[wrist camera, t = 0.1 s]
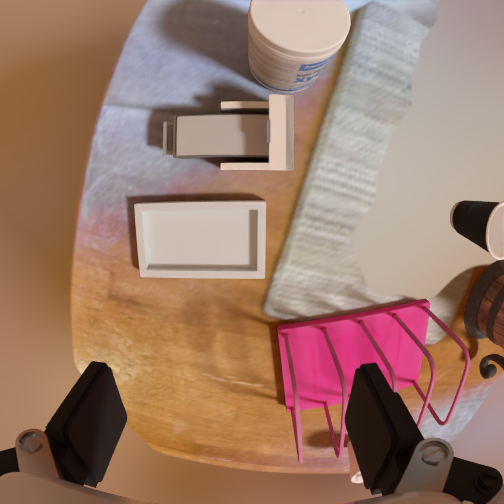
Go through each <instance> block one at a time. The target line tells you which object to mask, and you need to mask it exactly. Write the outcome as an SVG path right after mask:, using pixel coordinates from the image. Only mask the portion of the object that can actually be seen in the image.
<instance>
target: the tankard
mask: <svg viewBox="0 0 504 504" xmlns="http://www.w3.org/2000/svg"><path fill="white" fill-rule="evenodd" d="M464 323H465V328H466V331H467V333H468V334H469V335H470V336H471V337H473V338H476V339H482V338H489V340H491V341H492V342H493V343H495V344H496V345H500V346H501V347H502V348H504V259H502V260H498V261H496V262H494V263H492V264H491V265H490V266H489V267H487V268H486V269H485V270H484V272H483V273H482V274H481V275H480V277H479V278H478V279H477V281H476V282H475V284H474V286H473V288H472V290H471V292H470V295H469V297H468V300H467V304H466V308H465V314H464ZM489 360H492V361H494V362H496V363H497V364H499V365H500V366H501V367H502V368H503V370H504V357H503V356H500V355H498V354H491V355H488V356H485V357H484V358H483V359H482V360H481V362H480V366H479V367H480V373H481V375H482V377H483V378H485V379H488V378H491V377H493V376H494V375H495V374H496V372H497V368H496V366H495V365H493V364H490V365H488V362H489Z"/></svg>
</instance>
